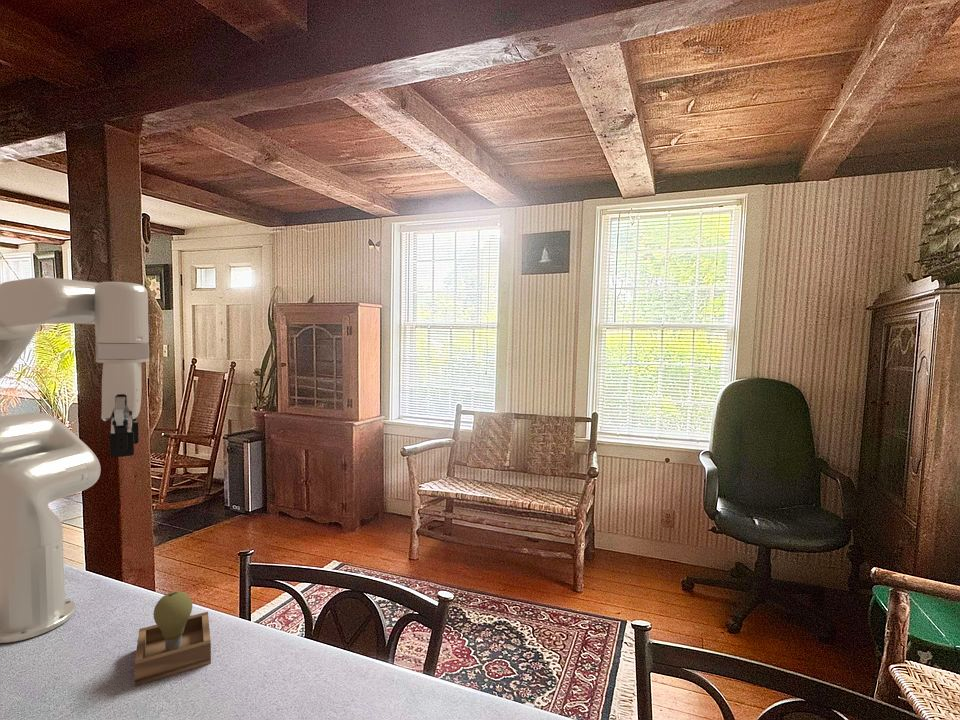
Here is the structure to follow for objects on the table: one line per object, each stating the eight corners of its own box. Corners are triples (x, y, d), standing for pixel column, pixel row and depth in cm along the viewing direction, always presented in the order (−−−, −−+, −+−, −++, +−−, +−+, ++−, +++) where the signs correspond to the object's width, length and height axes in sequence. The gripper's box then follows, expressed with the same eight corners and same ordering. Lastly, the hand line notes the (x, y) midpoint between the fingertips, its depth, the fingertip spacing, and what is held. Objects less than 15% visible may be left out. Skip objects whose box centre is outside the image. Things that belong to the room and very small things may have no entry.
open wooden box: (139, 648, 84) (139, 628, 83) (208, 629, 89) (207, 611, 89) (134, 686, 75) (134, 664, 75) (210, 663, 80) (210, 642, 80)
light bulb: (174, 663, 79) (173, 604, 78) (145, 658, 80) (144, 599, 79) (200, 642, 84) (199, 586, 83) (173, 637, 85) (172, 582, 85)
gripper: (103, 351, 89) (105, 442, 90) (87, 356, 74) (90, 464, 75) (151, 351, 93) (153, 438, 94) (146, 355, 78) (148, 458, 79)
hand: (125, 449), depth 85 cm, fingers open, 9 cm apart
